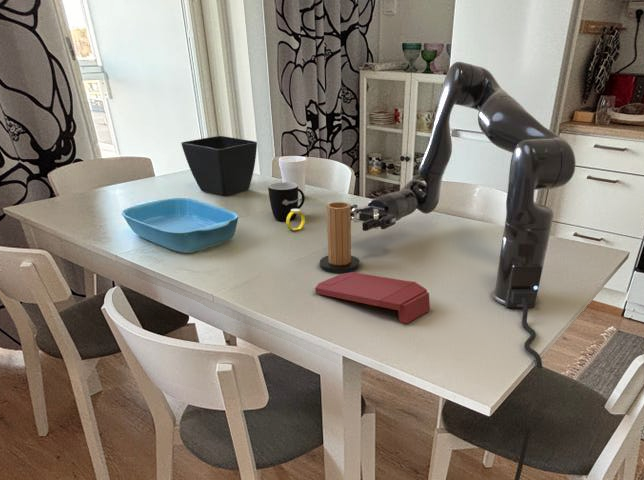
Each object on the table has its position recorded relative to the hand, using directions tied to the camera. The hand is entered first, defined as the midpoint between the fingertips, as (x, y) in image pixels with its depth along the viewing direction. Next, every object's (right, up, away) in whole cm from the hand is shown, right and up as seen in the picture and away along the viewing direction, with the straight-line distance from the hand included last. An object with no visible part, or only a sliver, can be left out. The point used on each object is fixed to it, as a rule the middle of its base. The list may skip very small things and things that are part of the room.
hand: (350, 223), depth 128 cm
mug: (-20, +11, +36) cm, 42 cm away
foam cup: (-21, +24, +56) cm, 64 cm away
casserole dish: (-48, +1, +19) cm, 52 cm away
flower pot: (-48, +28, +62) cm, 83 cm away
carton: (+5, -21, -14) cm, 26 cm away
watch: (-17, +5, +26) cm, 31 cm away
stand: (-3, -10, +2) cm, 11 cm away
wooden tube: (-3, -9, +2) cm, 10 cm away
